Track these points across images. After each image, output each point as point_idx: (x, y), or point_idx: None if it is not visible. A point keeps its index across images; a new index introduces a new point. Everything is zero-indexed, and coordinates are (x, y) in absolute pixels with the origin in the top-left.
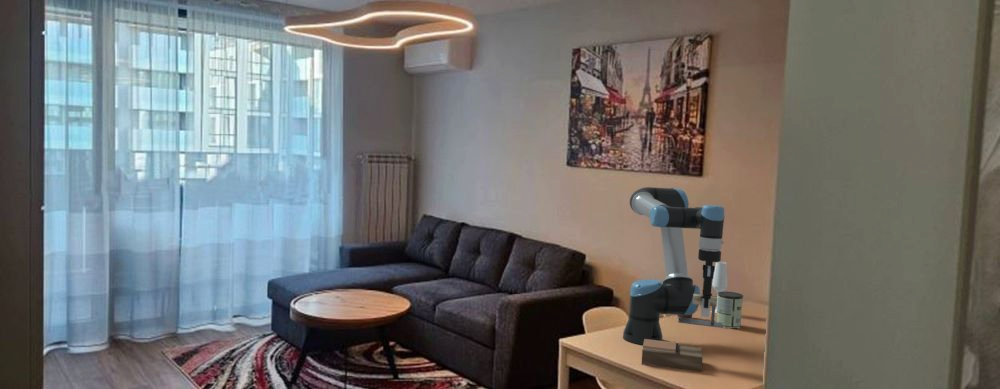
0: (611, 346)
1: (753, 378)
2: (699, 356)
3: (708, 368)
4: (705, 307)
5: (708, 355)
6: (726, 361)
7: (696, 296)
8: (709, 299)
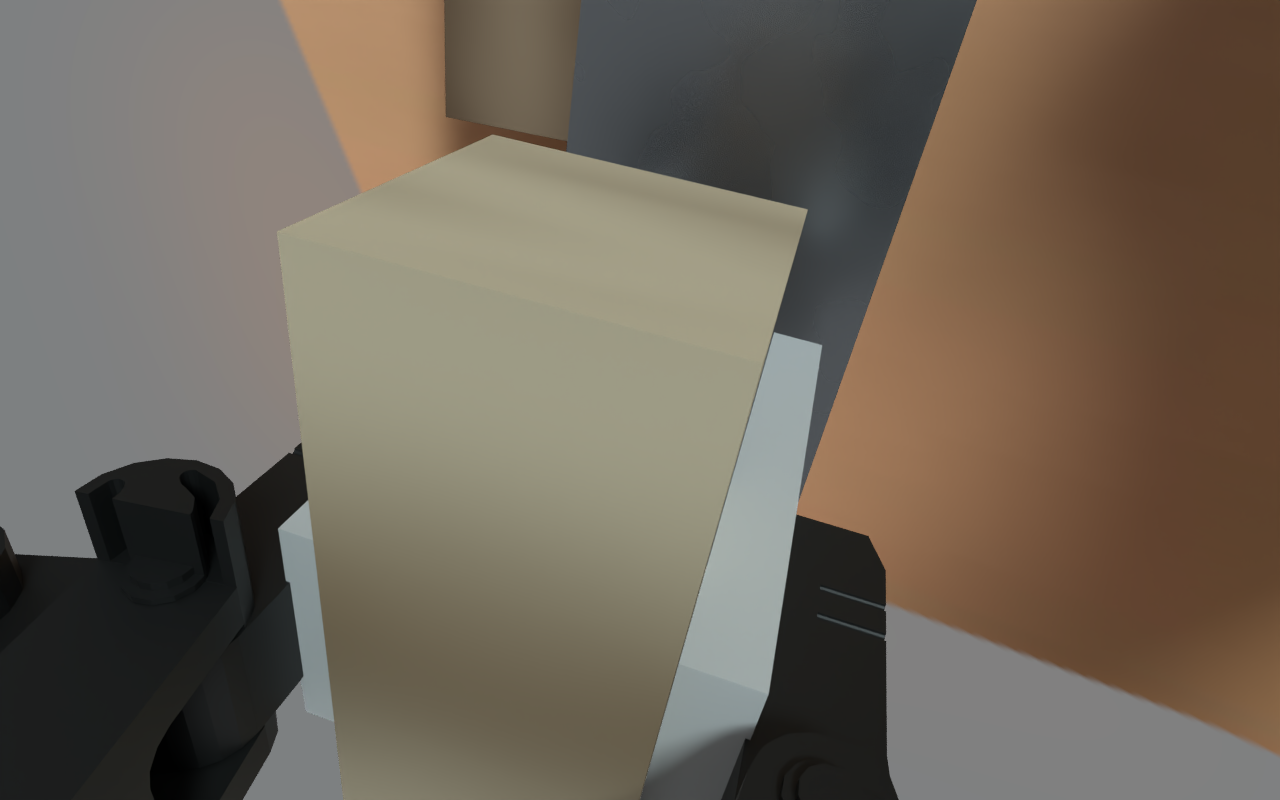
0: None
1: None
2: (467, 88)
3: None
4: None
5: (1055, 297)
6: (869, 402)
7: (312, 367)
8: (316, 677)
